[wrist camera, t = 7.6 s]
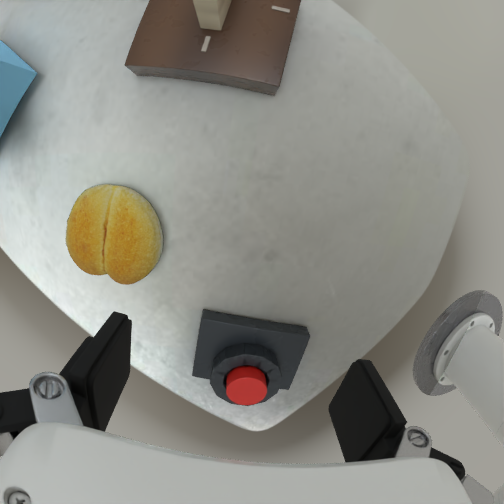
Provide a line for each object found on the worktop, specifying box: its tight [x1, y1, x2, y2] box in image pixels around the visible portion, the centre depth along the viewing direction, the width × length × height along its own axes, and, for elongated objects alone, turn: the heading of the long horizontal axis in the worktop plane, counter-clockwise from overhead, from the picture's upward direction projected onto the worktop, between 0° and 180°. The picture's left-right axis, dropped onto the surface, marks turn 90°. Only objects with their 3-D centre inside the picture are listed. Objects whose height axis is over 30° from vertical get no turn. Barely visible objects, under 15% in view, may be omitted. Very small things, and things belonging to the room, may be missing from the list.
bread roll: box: [66, 184, 163, 284], centre depth 22 cm, size 8×9×4 cm
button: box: [226, 366, 267, 405], centre depth 24 cm, size 4×4×2 cm
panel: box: [125, 0, 301, 95], centre depth 17 cm, size 12×12×3 cm
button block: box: [192, 310, 310, 406], centre depth 26 cm, size 10×8×4 cm
